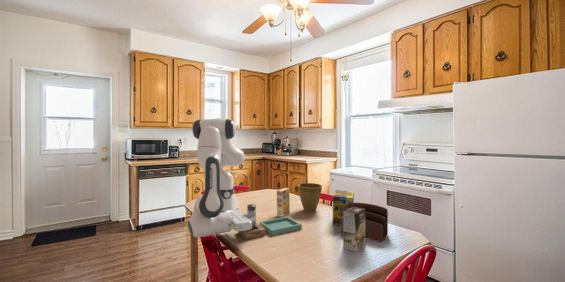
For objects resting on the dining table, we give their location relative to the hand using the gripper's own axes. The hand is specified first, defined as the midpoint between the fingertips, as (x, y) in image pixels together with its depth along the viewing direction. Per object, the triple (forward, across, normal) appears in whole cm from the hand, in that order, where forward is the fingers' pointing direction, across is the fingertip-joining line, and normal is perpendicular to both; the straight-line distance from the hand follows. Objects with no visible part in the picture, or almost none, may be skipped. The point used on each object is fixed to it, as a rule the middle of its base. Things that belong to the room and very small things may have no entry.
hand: (253, 217), depth 126 cm
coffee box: (+32, -35, +8) cm, 48 cm away
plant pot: (+46, +17, +8) cm, 50 cm away
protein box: (+50, -9, +8) cm, 52 cm away
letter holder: (+46, -27, +8) cm, 54 cm away
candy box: (+27, +18, +8) cm, 34 cm away
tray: (+15, 0, +8) cm, 17 cm away
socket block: (-1, 0, +8) cm, 8 cm away
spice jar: (-1, 0, +8) cm, 8 cm away
